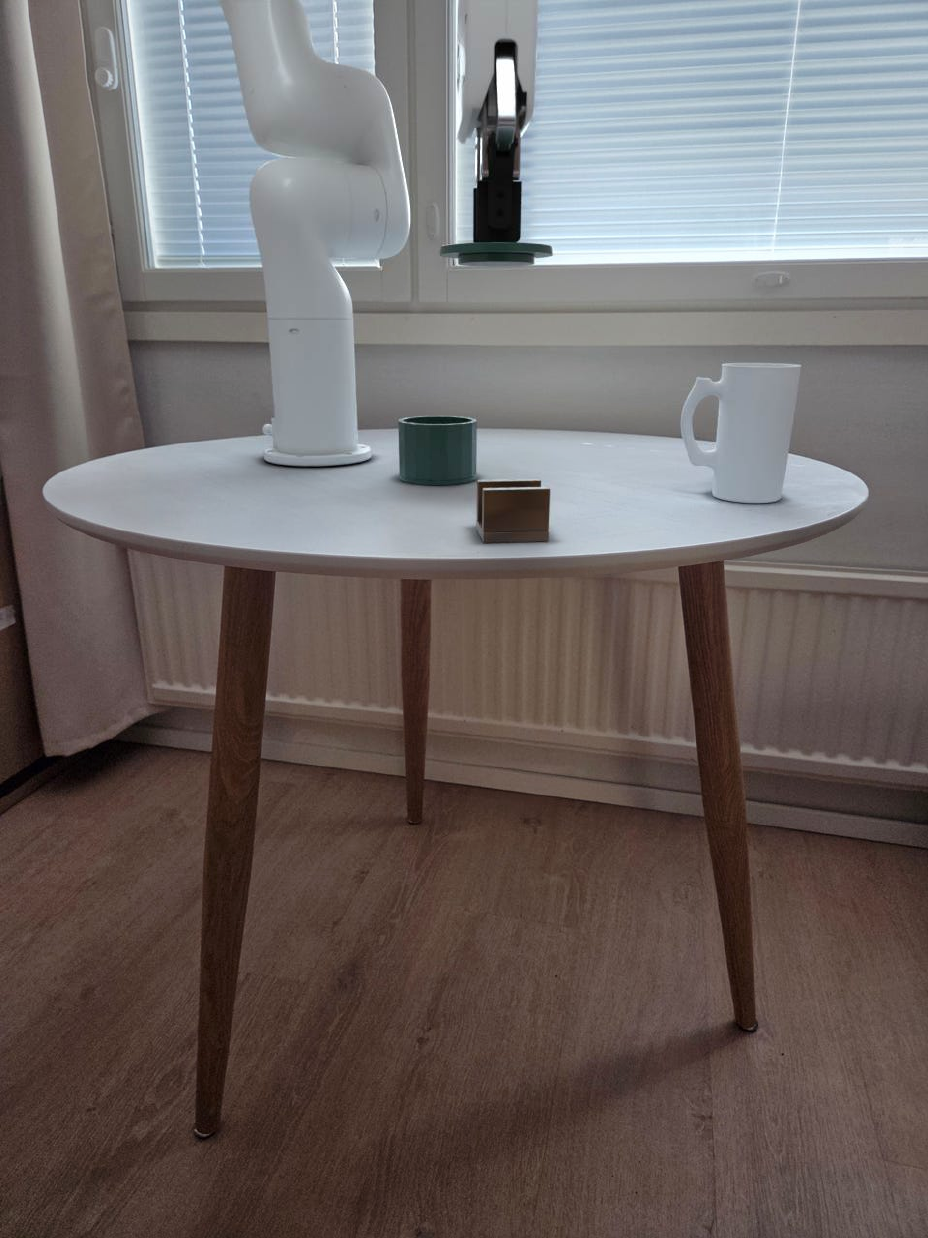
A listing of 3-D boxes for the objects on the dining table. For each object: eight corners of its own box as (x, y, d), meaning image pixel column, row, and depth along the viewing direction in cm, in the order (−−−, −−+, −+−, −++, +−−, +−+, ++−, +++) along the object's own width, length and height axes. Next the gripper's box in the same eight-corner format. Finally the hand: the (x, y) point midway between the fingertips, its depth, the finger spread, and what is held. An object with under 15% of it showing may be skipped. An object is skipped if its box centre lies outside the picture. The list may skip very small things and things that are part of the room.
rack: (483, 543, 63) (484, 490, 62) (476, 529, 67) (476, 479, 66) (548, 541, 64) (550, 488, 62) (537, 527, 68) (539, 478, 67)
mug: (774, 490, 82) (790, 362, 78) (792, 505, 76) (811, 367, 72) (669, 488, 83) (680, 362, 79) (679, 502, 77) (691, 366, 73)
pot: (399, 485, 85) (397, 424, 83) (400, 471, 92) (398, 415, 90) (478, 484, 85) (479, 424, 83) (473, 471, 93) (473, 415, 90)
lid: (441, 260, 59) (440, 153, 57) (437, 267, 68) (436, 173, 65) (562, 260, 60) (566, 154, 58) (543, 267, 68) (546, 175, 66)
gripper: (440, -9, 65) (442, 252, 71) (450, -111, 49) (451, 233, 55) (537, -7, 65) (530, 252, 71) (576, -107, 50) (564, 234, 56)
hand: (496, 241), depth 63 cm, fingers closed on lid, 2 cm apart
